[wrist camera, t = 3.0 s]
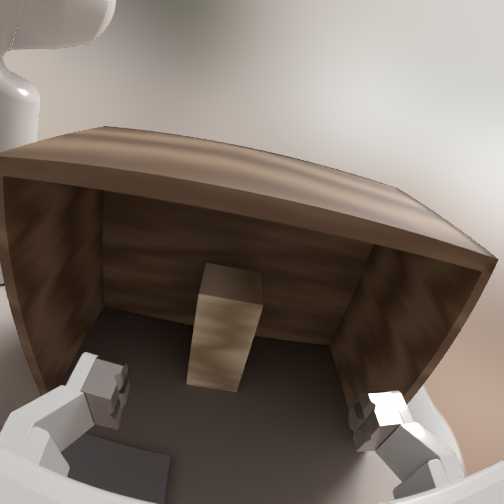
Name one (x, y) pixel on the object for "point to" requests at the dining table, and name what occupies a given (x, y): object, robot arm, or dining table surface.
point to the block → (224, 326)
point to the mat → (118, 468)
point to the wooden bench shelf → (229, 251)
